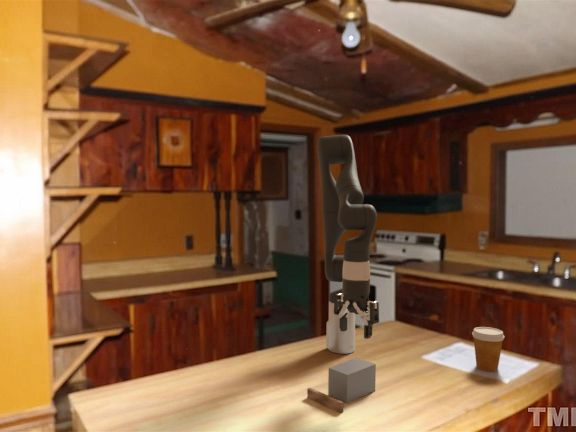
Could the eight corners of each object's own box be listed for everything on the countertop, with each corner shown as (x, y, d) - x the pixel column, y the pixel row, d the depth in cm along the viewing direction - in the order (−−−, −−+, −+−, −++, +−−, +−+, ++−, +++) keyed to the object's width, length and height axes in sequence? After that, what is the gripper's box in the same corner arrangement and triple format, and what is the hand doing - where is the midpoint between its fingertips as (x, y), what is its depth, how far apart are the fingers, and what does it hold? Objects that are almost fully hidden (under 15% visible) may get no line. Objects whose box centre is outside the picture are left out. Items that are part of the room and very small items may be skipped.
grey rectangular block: (328, 394, 133) (328, 367, 133) (356, 383, 141) (356, 357, 141) (347, 403, 128) (347, 374, 128) (375, 390, 136) (375, 364, 136)
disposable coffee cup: (502, 364, 158) (503, 328, 157) (504, 375, 149) (506, 336, 148) (470, 361, 161) (471, 325, 160) (471, 371, 152) (472, 333, 151)
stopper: (307, 397, 132) (307, 388, 131) (309, 396, 132) (310, 387, 132) (340, 413, 123) (340, 403, 123) (343, 411, 123) (343, 402, 123)
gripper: (327, 274, 137) (327, 331, 138) (368, 282, 126) (367, 343, 127) (345, 271, 142) (344, 326, 143) (385, 278, 131) (384, 337, 132)
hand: (355, 334), depth 135 cm, fingers open, 8 cm apart
